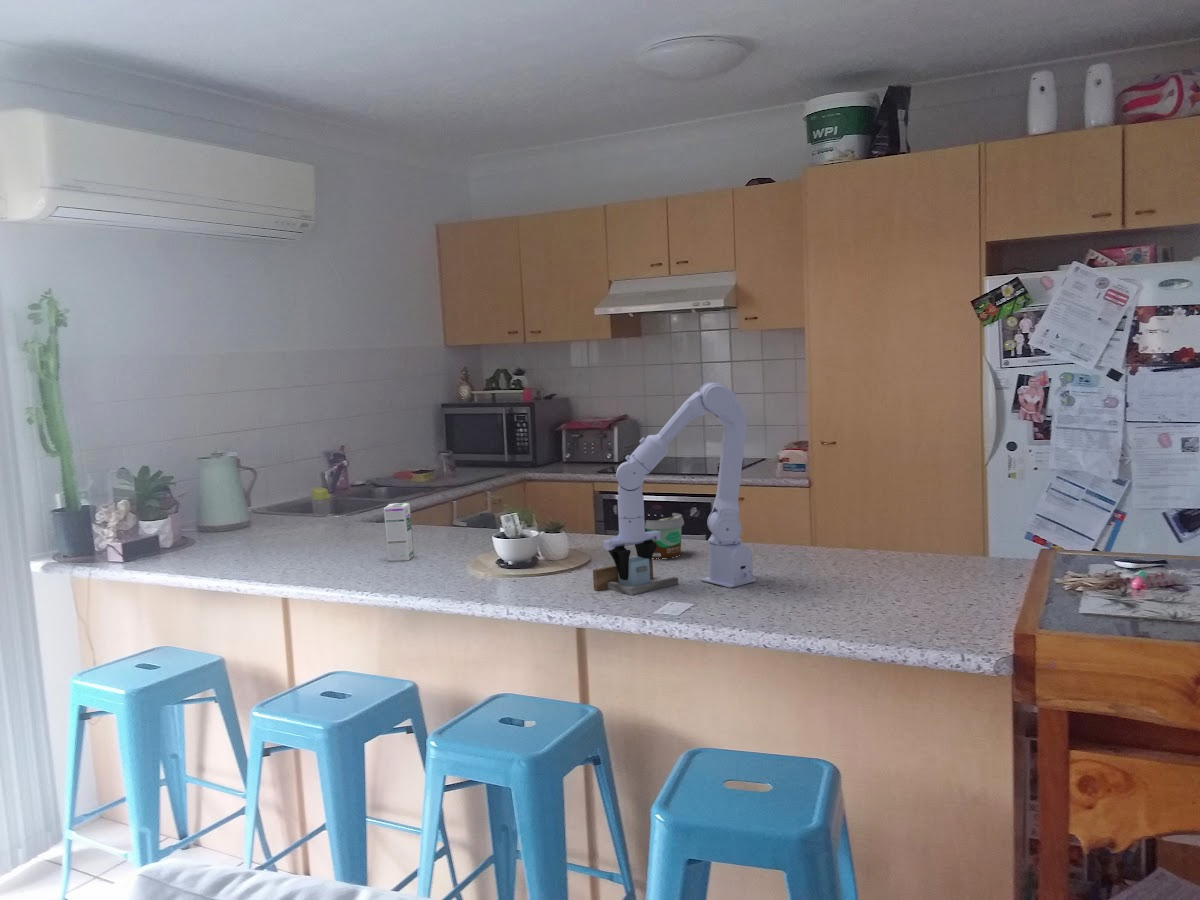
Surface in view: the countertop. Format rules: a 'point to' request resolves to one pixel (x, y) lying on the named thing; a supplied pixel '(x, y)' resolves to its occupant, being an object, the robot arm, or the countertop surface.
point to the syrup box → (398, 532)
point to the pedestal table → (609, 579)
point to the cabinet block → (637, 572)
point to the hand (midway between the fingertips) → (633, 576)
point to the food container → (667, 535)
